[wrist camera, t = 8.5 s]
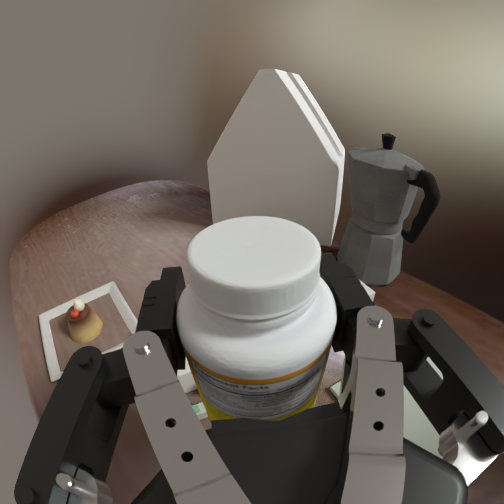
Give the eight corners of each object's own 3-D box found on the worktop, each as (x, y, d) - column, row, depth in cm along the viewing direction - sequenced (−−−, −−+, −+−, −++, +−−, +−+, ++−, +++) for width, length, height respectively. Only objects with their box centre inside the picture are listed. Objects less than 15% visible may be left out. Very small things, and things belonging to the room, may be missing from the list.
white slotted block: (213, 228, 48) (201, 73, 35) (247, 195, 60) (242, 75, 47) (330, 247, 42) (342, 71, 29) (339, 207, 54) (347, 77, 41)
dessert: (56, 388, 22) (32, 359, 19) (41, 321, 30) (26, 292, 27) (150, 342, 28) (137, 310, 26) (116, 286, 36) (105, 257, 33)
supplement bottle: (239, 355, 17) (224, 196, 12) (325, 386, 15) (363, 222, 9) (188, 425, 13) (119, 268, 8) (285, 470, 11) (317, 341, 5)
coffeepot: (317, 247, 42) (325, 122, 32) (368, 238, 44) (383, 125, 34) (374, 317, 29) (413, 153, 20) (430, 297, 31) (471, 158, 22)
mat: (414, 333, 27) (415, 329, 27) (487, 400, 18) (490, 397, 17) (329, 389, 22) (330, 386, 22) (413, 485, 13) (416, 484, 13)
